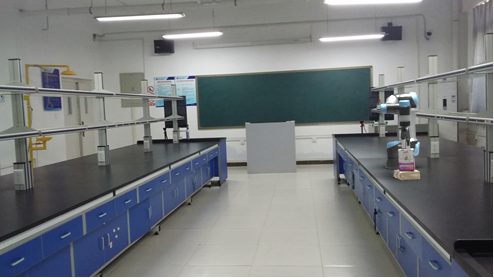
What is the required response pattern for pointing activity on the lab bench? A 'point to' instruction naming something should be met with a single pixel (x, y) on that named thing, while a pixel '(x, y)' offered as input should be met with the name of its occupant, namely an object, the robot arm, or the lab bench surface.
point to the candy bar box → (406, 160)
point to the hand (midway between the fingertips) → (405, 149)
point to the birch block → (407, 175)
